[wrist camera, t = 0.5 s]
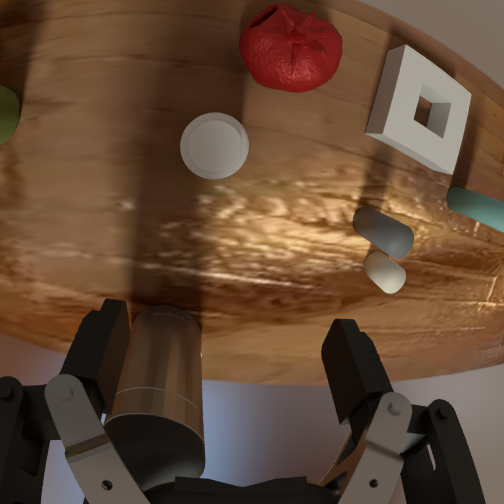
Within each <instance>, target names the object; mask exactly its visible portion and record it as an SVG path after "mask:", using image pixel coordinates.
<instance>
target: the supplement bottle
mask: <svg viewBox="0 0 504 504" xmlns="http://www.w3.org/2000/svg"><path fill="white" fill-rule="evenodd" d="M180 151H181V156H182V159H183V161H184V163H185V165H186V166H187V167H188V168H189V170H190V171H192V172H193V173H194V174H196V175H198V176H200V177H202V178H206V179H222V178H225V177H228V176H230V175H232V174H234V173H235V172H236V171H237V170H239V169H240V167H241V166H242V165H243V163H244V162H245V160H246V158H247V155H248V151H249V140H248V135H247V133H246V131H245V129H244V127H243V126H242V125H241V123H240V122H239V121H237V120H236V119H235V118H233V117H232V116H229V115H227V114H224V113H215V112H214V113H207V114H204V115H201V116H199V117H197V118H196V119H194V120H193V121H192V122H191V123H190V124H189V125H188V126H187V127H186V129H185V130H184V132H183V134H182V137H181V142H180Z"/></svg>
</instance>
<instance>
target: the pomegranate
mask: <svg viewBox="0 0 504 504" xmlns="http://www.w3.org/2000/svg"><path fill="white" fill-rule="evenodd" d="M317 9H318V7H317V8H316V10H317ZM316 10H315V11H314V12H313V13H312V14H310V15H309V14H307V13H302V12H299V11H298V10H297V9H295V8H294V7H293V6H292V5H290V4H277V3H276V5H272V6H270V7H268V8H266V9H265V10H263V11H261V12H260V13H259V14H258V15H257V16H255V17H253V18H252V19H251V20H250V21H249V23H248V24H247V25H246V26H245V27H244V29H243V32H242V35H241V37H240V42H239V50H240V54H241V56H242V60H243V62H244V64H245V66H246V67H247V69H248V71H249V72H250V73H251V75H252V76H253V78H254V80H255V81H256V82H257V83H258V84H260V85H262V86H264V87H268V88H272V89H277V90H284V91H288V92H295V93H296V92H297V93H300V92H306V91H309V90H312V89H314V88H317V87H319V86H321V85H323V84H324V83H326V82H327V81H328V80H330V79H331V78H332V77H333V75H334V74H335V72H336V71H337V68H338V66H339V62H340V59H341V56H342V36H341V35H340V34H339V33H338V31H337V29H336V28H335V27H334V25H333V24H331V23H329V22H328V21H326V20H324V19H320V18H316V17H314V16H315V13H316Z"/></svg>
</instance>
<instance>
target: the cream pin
mask: <svg viewBox="0 0 504 504" xmlns="http://www.w3.org/2000/svg"><path fill="white" fill-rule="evenodd" d="M363 270H364V272H365V274H366V275H367V276H368V277H370V278H371V279H372V280H373V281H374V282H375V283H376V284H377V285H378V286H379V287H380V288H381V289H382V290H383V291H384V292H386V293H389V294H390V293H394V292H396V291H398V290H399V289H400V288H401V287H402V286H403V284H404V282H405V278H406V273H405V270H404V269H403V268H402V267H400V266H399V265H398V264H396V263H395V262H394V261H392V260H391V259H390V258H388V257H387V256H386V255H384V254H383V253H381V252H378V251H377V252H373V253H371V254H369V255H368V256H367V258H366V259H365V261H364V264H363Z"/></svg>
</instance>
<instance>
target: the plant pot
mask: <svg viewBox="0 0 504 504" xmlns="http://www.w3.org/2000/svg"><path fill="white" fill-rule="evenodd" d="M19 105H20V103H19V99H18V97H17V95H16V94H15V93H14V92H13V91H12V90H10V89H8V88H6V87H4V86H2V85H0V145H1V144H3V143H5V142H6V141H7V140H8V139H9V138H10V137H11V136H12V134H13V133H14V131H15V129H16V127H17V124H18V121H19Z"/></svg>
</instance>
